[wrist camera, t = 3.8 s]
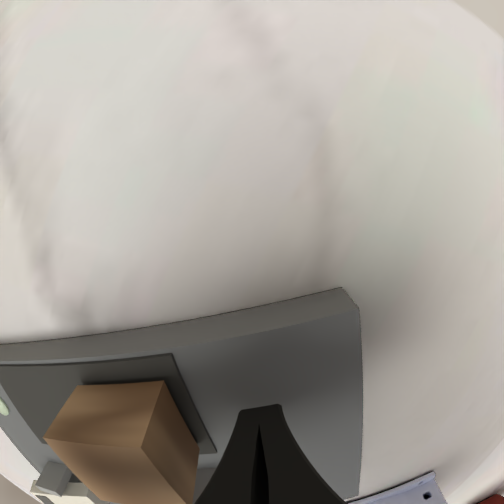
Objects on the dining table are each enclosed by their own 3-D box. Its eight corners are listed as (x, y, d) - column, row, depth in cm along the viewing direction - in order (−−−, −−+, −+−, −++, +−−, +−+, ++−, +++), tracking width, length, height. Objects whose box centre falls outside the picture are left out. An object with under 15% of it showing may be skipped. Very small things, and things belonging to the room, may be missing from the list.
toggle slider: (163, 380, 9) (140, 447, 6) (199, 448, 10) (191, 509, 7) (77, 385, 10) (42, 437, 6) (119, 449, 11) (100, 500, 7)
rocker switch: (89, 482, 12) (86, 497, 10) (113, 505, 12) (112, 519, 11) (33, 480, 11) (29, 492, 10) (58, 503, 12) (55, 515, 10)
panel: (341, 287, 11) (389, 346, 7) (351, 473, 15) (367, 524, 10) (-25, 346, 12) (-63, 379, 8) (73, 483, 15) (57, 520, 11)
